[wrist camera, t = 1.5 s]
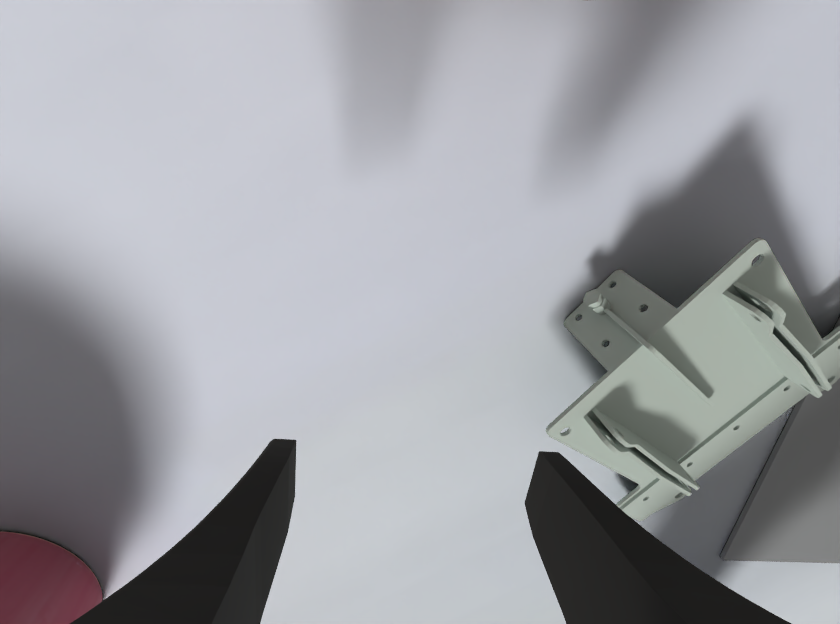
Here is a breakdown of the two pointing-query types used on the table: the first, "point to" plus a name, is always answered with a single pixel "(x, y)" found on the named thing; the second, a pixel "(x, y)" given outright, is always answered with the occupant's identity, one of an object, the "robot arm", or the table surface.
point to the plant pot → (43, 582)
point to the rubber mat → (796, 491)
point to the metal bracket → (691, 374)
